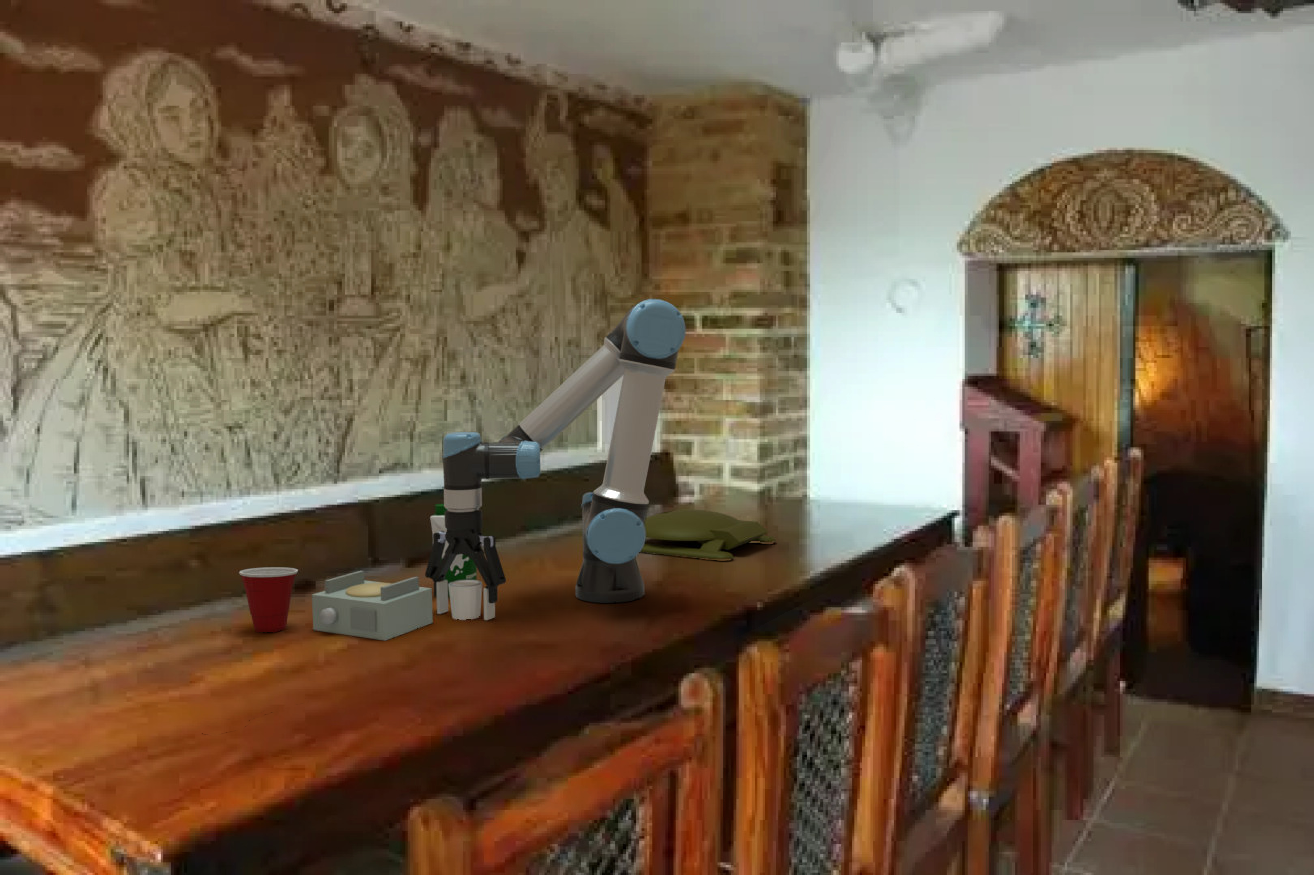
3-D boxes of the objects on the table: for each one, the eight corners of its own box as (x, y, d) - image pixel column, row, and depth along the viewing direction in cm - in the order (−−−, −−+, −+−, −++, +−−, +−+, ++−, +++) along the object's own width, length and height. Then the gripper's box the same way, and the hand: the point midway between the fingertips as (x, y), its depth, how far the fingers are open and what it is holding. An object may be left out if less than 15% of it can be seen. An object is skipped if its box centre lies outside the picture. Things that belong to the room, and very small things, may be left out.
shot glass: (450, 612, 220) (450, 579, 219) (484, 611, 221) (483, 578, 220) (447, 621, 213) (446, 586, 213) (481, 620, 214) (481, 585, 213)
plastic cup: (312, 624, 212) (309, 564, 211) (276, 638, 202) (273, 576, 200) (267, 620, 215) (264, 561, 214) (229, 634, 205) (226, 572, 204)
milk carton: (444, 588, 242) (442, 501, 240) (482, 590, 240) (480, 502, 238) (428, 597, 233) (426, 507, 231) (467, 599, 231) (465, 508, 229)
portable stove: (432, 622, 212) (431, 575, 211) (379, 642, 198) (377, 592, 197) (363, 613, 220) (361, 568, 219) (307, 631, 206) (305, 583, 205)
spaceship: (779, 544, 293) (779, 509, 293) (727, 564, 267) (727, 526, 266) (670, 533, 312) (669, 500, 311) (611, 551, 285) (611, 515, 285)
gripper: (522, 509, 213) (524, 617, 215) (428, 502, 223) (431, 605, 225) (500, 515, 206) (503, 626, 208) (405, 507, 217) (408, 613, 219)
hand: (465, 615), depth 217 cm, fingers open, 11 cm apart
